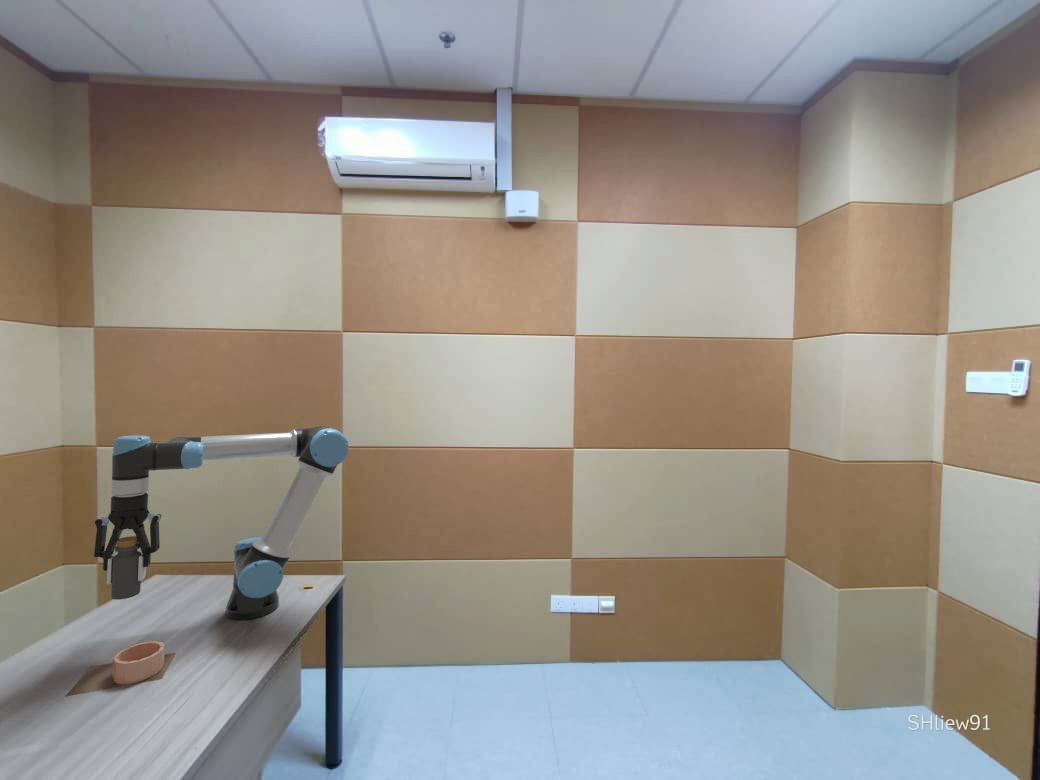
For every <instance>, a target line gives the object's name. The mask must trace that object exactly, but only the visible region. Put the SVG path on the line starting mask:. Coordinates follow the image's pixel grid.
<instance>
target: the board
mask: <svg viewBox="0 0 1040 780" xmlns="http://www.w3.org/2000/svg"><path fill="white" fill-rule="evenodd" d="M176 655H177V652H172V653H165V658H164V664H163V668H162V670H161V671H160V672H159V673H157V674H156V675H154V676H152V677H151V678H148V679H146V680H144V681H141V682H137V683H133V684H127V685H120V684H116V683H114V681H113V677H112V675H113V662H110V663H105V664H98V665H93V666H90V667H89V668H88V669H87V670H86V672H84V673H83V675H82V676H81V677H80V678H79V679H78V681H77V682H76V683H75V684H74V686H72V688H71V689H70V690H69V691H68V692H67V694H65V697H69V696H71V697H72V696H74V695H81V694H82V695H83V694H86V693H92V692H93V693H94V692H98V691H103V690H108V689H113V688H120V687H125V686H131V685H136V684H141V683H146V682H153V681H157V680H162V679H163V678H164V676H165V673H166V672H167V671H168V669H169V667H170V665H171V663H172V662H173V660H174V658H175V656H176Z"/></svg>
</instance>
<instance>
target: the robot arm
mask: <svg viewBox="0 0 1040 780" xmlns="http://www.w3.org/2000/svg"><path fill="white" fill-rule="evenodd" d="M349 448H350V445H349V441H348V439H347V437H346V436H345V435H344V434H343V433H342V432H341V431H339V430H338V429H335V428H331V427H328V426H322V425H320V426H314V427H313V426H312V427H307V428H296V429H295V428H294V429H292V430H291V431H290V432H272V433H250V434H232V435H231V434H230V435H229V434H228V435H213V436H211V435H210V436H192V437H190V436H189V437H188V436H176V437H174V438H171V439H170V440H169V441H167V442H160V443H159V442H152V440H151V438H150V436H148V435H124V436H118V437H117V438H115V439H114V441H113V449H112V455H111V457H112V460H111V461H112V464H111V467H112V468H111V489H110V490H111V491H110V494H111V495H112V496H111V497H110V513H108V515H107V516H101V517H99V518H97V519H96V520H94V524H95V527H96V532H95V533H96V535H95V544H94V553H93V556H94V558H101V559H103V563H102V565H103V566H102V570H103V572H107V575H106V577H107V578H106V585H112V567H113V557H114V556H115V555H114V552H115V547H116V546H117V542H116V541H117V540H118V539H120V538H121V535H122V532H123V531H124V530H132V532H133V533H134V534H135V536H136V537H137V540H138V543H139V546H140V548H139V549H140V552H141V553H142V555H140V556H139V567H138V581H143V580H144V579H145V578H146V577H147V576H146V575H147V574H146V573H147V567H149V566H150V565H151V559H152V554H153V553H156V552H157V551H158V550H159V549H160V548H161V547H160V546H161V545H160V521H161V518H162V514H160V513H158V514H155V513H151V512H150V511H149V508H148V507H149V506H148V505H149V493H147V492H148V491H149V483H150V482H149V479H150V477H149V476H150V471H163V470H165V471H169V470H190V469H196V468H200V467H202V466H203V462H205V461H206V462H207V461H214V460H215V461H216V460H217V461H219V460H230V459H231V460H232V459H245V458H248V459H249V458H260V457H273V456H275V457H276V456H287V455H290V456H291V457H292V458H297V457H298V459H297V461H298V462H297V463H298V465H299V468H298V470H297V472H296V473H295V475H294V478H293V479H292V481H291V483H290V485H289V487H288V489H287V491H285V494H284V496H283V497H282V500H281V502H280V503H279V505H278V507H277V509H276V511H275V512H274V514H273V516H272V518H271V520H270V522H269V523H268V525H267V527H266V528H265V531H264V533H263V535H262V536H260V537H259V536H258V537H251V538H247V539H242V540H239V541H237V542H236V544H235V545H234V550H233V554H234V557H233V559H234V560H233V582H232V583H233V584H232V586H233V587H232V591H231V592H230V595H229V598H228V601H227V603H226V607H225V616H226V617H227V618H228V619H231V620H234V621H235V620H237V621H243V620H244V621H245V620H252V619H257V618H260V617H264V616H266V615H268V613H269V614H271V613H272V612H274V611H275V610H277V608H278V607H279V605H280V597H279V594H278V589H279V588H280V586H281V584H282V582H283V580H284V574H285V573H284V569H285V567H286V565H287V564H288V561H289V560H290V557H291V552H290V547H291V545H292V543H293V541H294V540H295V537H296V535H297V533H298V532H299V530H300V528H301V526H302V524H303V522H304V520H305V518H306V516H307V514H308V513H309V510H310V508H311V506H312V504H313V503H314V501H315V499H316V497H317V495H318V494H319V491H320V489H321V487H322V485H323V483H324V481H325V479H326V478H327V477H330V476H332V475H333V474H334V472H335V470H336V469H337V467H338V465H340V464H341V463H342V462H343V461H344V460H345V459H346V458H347V456H348V453H349V450H350V449H349ZM146 520H148V523H150V525H149V534H150V535H149V536H150V537H149V538H150V542H149V539H148V536H147V534H146V530H145V524H144V522H145V521H146ZM109 522H110V523H111V524H112V525H113V526H114V527H113V528H112V532H111V536H110V538H109V540H108V544H107V546H106V541H107V532H108V531H107V530H108V525H109ZM273 610H274V611H273ZM270 612H271V613H270ZM263 615H264V616H263Z"/></svg>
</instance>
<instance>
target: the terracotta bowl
mask: <svg viewBox="0 0 1040 780" xmlns="http://www.w3.org/2000/svg"><path fill="white" fill-rule="evenodd" d="M165 652H166V645H165V644H164V643H163V642H162V641H156V640H152V641H145V642H140V643H137V644H134V645H131V646H127V647H126V648H124V649H123V650H121V651H118V652H117V653H116V654H115V656H114V657H112V663H113V675H112V677H113V681H114V683H116V684H120V685H126V686H128V685H127V684H131V685H134V684H133V683H137V682H141V681H144V680H146V679H148V678H151V677H152V676H154V675H156V674H157V673H159V672H160V671H161V670H162V668H163V664H164V658H165V654H166V653H165ZM137 684H138V683H137Z"/></svg>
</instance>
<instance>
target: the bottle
mask: <svg viewBox="0 0 1040 780" xmlns="http://www.w3.org/2000/svg"><path fill="white" fill-rule="evenodd" d="M116 542H117V545H116V547H115V550H114V552H116V553H117V554H115V555H113V556H114V557H113V567H112V583H111V599H112V600H115V601H116V600H126V599H130V598H133V597H136V596H138V595H139V594H140V593H141V583H142V582H141V581H138V567H139V556H140V555H142V551H139V549H141V548H140V546H139V543H138V540H137V537H136V535H135V536H134V535H131V536H124V537H120V538H119V539H118V540H117V541H116Z"/></svg>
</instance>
